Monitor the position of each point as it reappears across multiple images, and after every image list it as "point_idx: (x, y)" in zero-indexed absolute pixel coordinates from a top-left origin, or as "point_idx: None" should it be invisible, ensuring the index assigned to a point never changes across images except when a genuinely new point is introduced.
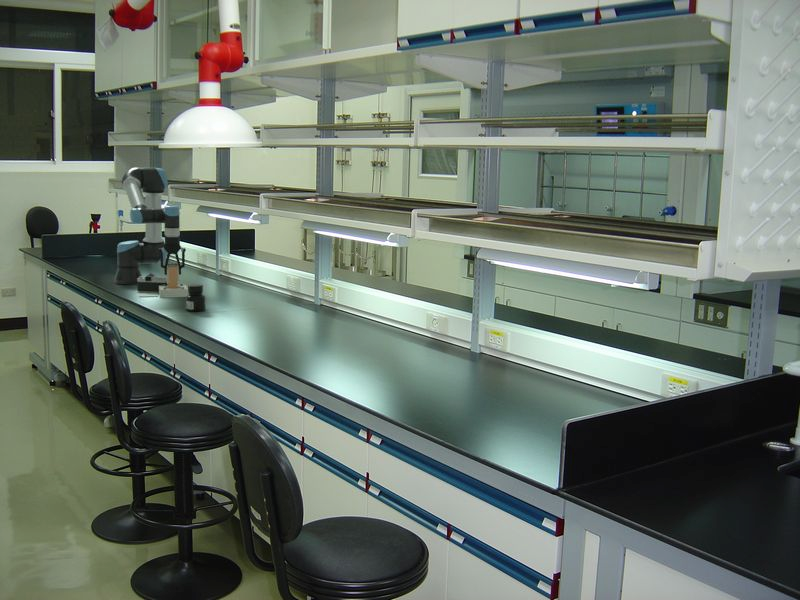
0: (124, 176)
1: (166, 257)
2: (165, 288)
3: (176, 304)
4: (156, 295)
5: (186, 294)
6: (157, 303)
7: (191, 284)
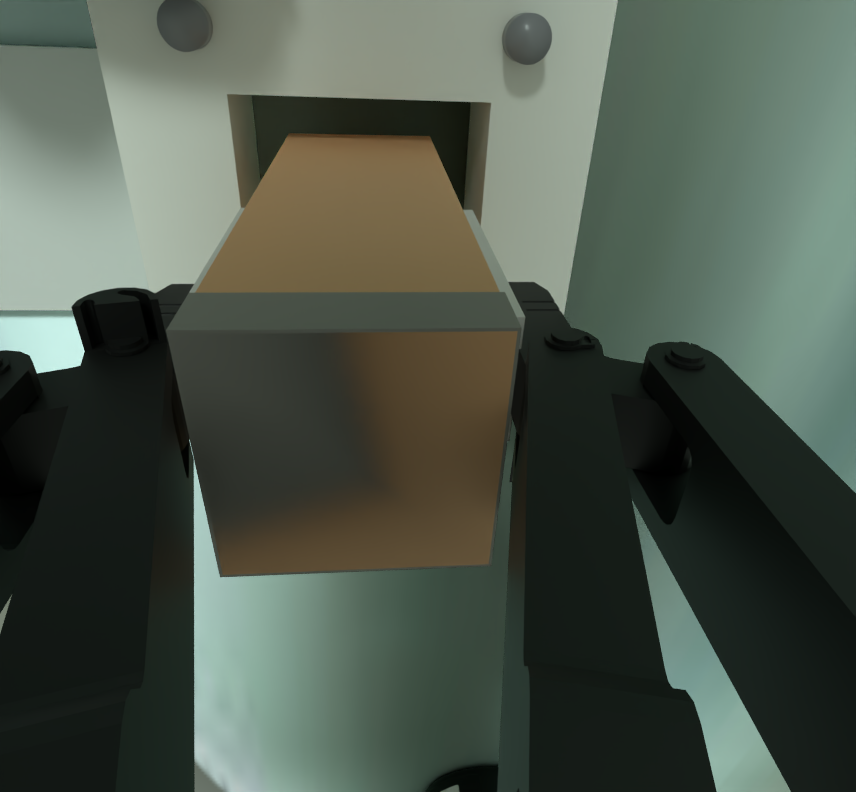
0: None
1: (19, 636)
2: None
3: (374, 660)
4: (141, 272)
5: None
6: (219, 622)
7: None
